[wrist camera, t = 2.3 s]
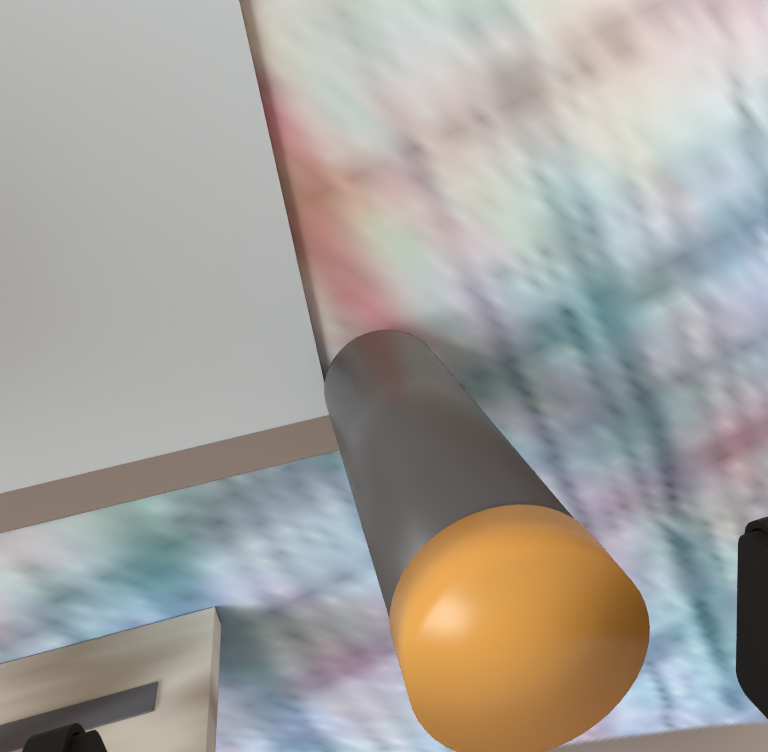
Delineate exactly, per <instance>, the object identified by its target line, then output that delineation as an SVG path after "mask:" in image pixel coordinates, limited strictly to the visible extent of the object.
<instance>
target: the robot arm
mask: <svg viewBox="0 0 768 752" xmlns="http://www.w3.org/2000/svg"><path fill="white" fill-rule="evenodd" d="M736 674H737V678H738V681H739V684H740V686H741V688H742V690H743V691H744V693H745V694H746V696H747V697H748V698H749V699H750V700H751V702H752V703H753V704H754V705H755V706H756V707H757V708H758V709H759V710H760V711H761V712H762V713H763V714H764V715H765V716H766V718H767V719H768V517H765V518H762V519H758V520H755V521H752V522H750V523H748V525H747V526H746V528H745V534H744V535H742V536H741V537H740V538H739V542H738V581H737V642H736ZM22 752H107V750H106V747H105V745H104V743H103V740H102V738H101V736H100V734H99V733H98V731H96V730H91V731H88V732H85V730H84V728H83V727H82V725H80V724H79V723H73V724H70V725H66V726H63V727H60V728H56V729H53V730H50V731H46V732H43V733H40V734H36V735H33V736H31V737H30V738H29V739H28V740H27V741H26V743H25V746H24V748H23V751H22Z"/></svg>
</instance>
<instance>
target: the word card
mask: <svg viewBox="0 0 768 752" xmlns="http://www.w3.org/2000/svg"><path fill="white" fill-rule="evenodd" d="M220 641H221V624H220V621H219V618H218V615H217V612H216V609H215V607H212V608H209V609H205V610H201V611H197V612H194V613H190V614H186V615H183V616H179V617H175V618H171V619H168V620H164V621H160V622H156V623H153V624H149V625H145V626H141V627H138V628H134V629H130V630H126V631H123V632H119V633H115V634H112V635H108V636H104V637H100V638H97V639H93V640H89V641H85V642H82V643H78V644H74V645H70V646H67V647H63V648H59V649H56V650H52V651H48V652H44V653H41V654H37V655H33V656H29V657H26V658H22V659H18V660H14V661H11V662H7V663H3V664H0V752H22V751H23V748H24V746H25V743H26V741H27V740H28V739H29V738H30V737H31V736H33V735H36V734H40V733H43V732H46V731H50V730H53V729H56V728H60V727H63V726H66V725H70V724H73V723H79V724H80V725H82V727H83V728H84V730H85V732H88V731H91V730H96V731H98V733H99V734H100V736H101V738H102V740H103V743H104V745H105V747H106V750H107V752H215V746H216V725H217V704H218V683H219V662H220Z"/></svg>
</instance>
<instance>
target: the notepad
mask: <svg viewBox="0 0 768 752" xmlns="http://www.w3.org/2000/svg"><path fill="white" fill-rule="evenodd" d="M324 385H325V384H324V379H323V375H322V370H321V366H320V361H319V357H318V352H317V348H316V343H315V339H314V334H313V330H312V325H311V321H310V316H309V312H308V307H307V303H306V298H305V294H304V289H303V285H302V280H301V276H300V271H299V267H298V262H297V258H296V253H295V249H294V244H293V240H292V235H291V231H290V226H289V222H288V217H287V213H286V208H285V204H284V199H283V195H282V190H281V186H280V181H279V177H278V172H277V168H276V163H275V159H274V154H273V150H272V145H271V141H270V136H269V132H268V127H267V123H266V118H265V114H264V109H263V105H262V100H261V96H260V91H259V87H258V82H257V78H256V73H255V69H254V64H253V60H252V55H251V51H250V46H249V42H248V37H247V33H246V28H245V24H244V19H243V15H242V10H241V6H240V1H239V0H0V533H3V532H8V531H12V530H16V529H20V528H24V527H28V526H32V525H36V524H40V523H44V522H48V521H52V520H56V519H60V518H65V517H69V516H73V515H77V514H81V513H85V512H89V511H93V510H97V509H101V508H105V507H109V506H113V505H117V504H121V503H126V502H130V501H134V500H138V499H142V498H146V497H150V496H154V495H158V494H162V493H166V492H170V491H174V490H178V489H183V488H187V487H191V486H195V485H199V484H203V483H207V482H211V481H215V480H219V479H223V478H227V477H231V476H235V475H240V474H244V473H248V472H252V471H256V470H260V469H264V468H268V467H272V466H276V465H280V464H284V463H288V462H292V461H297V460H301V459H305V458H309V457H313V456H317V455H321V454H325V453H329V452H333V451H337V450H339V447H338V443H337V440H336V436H335V433H334V430H333V426H332V423H331V419H330V416H329V413H328V409H327V406H326V403H325V396H324Z"/></svg>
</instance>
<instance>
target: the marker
mask: <svg viewBox="0 0 768 752" xmlns="http://www.w3.org/2000/svg"><path fill="white" fill-rule="evenodd" d="M324 396H325V403H326V406H327V409H328V413H329V416H330V419H331V423H332V426H333V430H334V433H335V436H336V440H337V443H338V446H339V450H340V453H341V457H342V460H343V463H344V467H345V470H346V473H347V477H348V480H349V484H350V487H351V490H352V494H353V497H354V500H355V504H356V507H357V511H358V514H359V517H360V521H361V524H362V527H363V531H364V534H365V538H366V541H367V544H368V548H369V551H370V554H371V558H372V561H373V565H374V568H375V571H376V575H377V578H378V581H379V585H380V588H381V592H382V595H383V598H384V602H385V605H386V608H387V612H388V615H389V619H390V631H391V637H392V641H393V644H394V647H395V651H396V654H397V658H398V661H399V665H400V668H401V672H402V675H403V679H404V682H405V685H406V689H407V692H408V696H409V699H410V702H411V706H412V709H413V711H414V713H415V715H416V717H417V719H418V721H419V722H420V724H421V725H422V726H423V728H424V729H425V730H426V731H427V732H428V733H429V734H430V735H431V736H432V737H433V738H434V739H435V740H437V741H438V742H440V743H441V744H443V745H444V746H446V747H448V748H450V749H452V750H454V751H456V752H544V751H547V750H550V749H553V748H555V747H558V746H560V745H562V744H564V743H566V742H568V741H571V740H572V739H574V738H576V737H578V736H579V735H581V734H583V733H584V732H586V731H587V730H589V729H590V728H591V727H593V726H594V725H596V724H597V723H598V722H599V721H601V720H602V719H603V718H604V717H605V716H606V715H608V714H609V713H610V712H611V711H612V710H613V709H614V708H615V706H616V705H617V704H618V703H619V702H620V701H621V700H622V698H623V697H624V696H625V695H626V693H627V692H628V691H629V689H630V688H631V686H632V684H633V683H634V681H635V680H636V678H637V676H638V674H639V672H640V669H641V667H642V665H643V662H644V659H645V656H646V653H647V648H648V643H649V630H650V626H649V617H648V612H647V608H646V605H645V602H644V600H643V598H642V596H641V594H640V592H639V590H638V589H637V588H636V586H635V585H634V583H633V582H632V581H631V580H630V578H629V577H628V576H627V575H626V574H625V573H624V571H623V570H622V569H621V568H620V567H619V566H618V564H617V563H616V562H615V561H614V560H613V559H612V557H611V556H610V555H609V554H608V553H607V552H606V550H605V549H604V548H603V547H602V546H601V545H600V543H599V542H598V541H597V540H596V539H595V538H594V536H593V535H592V534H591V533H590V532H589V531H588V530H587V529H586V528H585V527H584V526H583V525H582V524H581V523H579V522H578V521H576V520H575V519H574V518H573V517H572V516H571V515H570V513H569V512H568V511H567V510H566V509H565V507H564V506H563V505H562V504H561V503H560V502H559V500H558V499H557V498H556V497H555V496H554V494H553V493H552V492H551V491H550V490H549V489H548V487H547V486H546V485H545V484H544V483H543V481H542V480H541V479H540V478H539V477H538V476H537V474H536V473H535V472H534V471H533V470H532V468H531V467H530V466H529V465H528V464H527V463H526V461H525V460H524V459H523V458H522V457H521V456H520V454H519V453H518V452H517V451H516V450H515V448H514V447H513V446H512V445H511V444H510V443H509V441H508V440H507V439H506V438H505V437H504V435H503V434H502V433H501V432H500V431H499V430H498V428H497V427H496V426H495V425H494V424H493V422H492V421H491V420H490V419H489V418H488V417H487V415H486V414H485V413H484V412H483V411H482V409H481V408H480V407H479V406H478V405H477V404H476V402H475V401H474V400H473V399H472V398H471V396H470V395H469V394H468V393H467V392H466V391H465V389H464V388H463V387H462V386H461V385H460V384H459V382H458V381H457V380H456V379H455V378H454V376H453V375H452V374H451V373H450V372H449V371H448V369H447V368H446V367H445V366H444V365H443V363H442V362H441V361H440V360H439V359H438V358H437V356H436V355H435V354H434V353H433V352H432V350H431V349H430V348H429V347H428V346H427V345H426V344H425V343H423V342H422V341H421V340H419V339H418V338H416V337H414V336H412V335H410V334H407V333H404V332H400V331H394V330H381V331H374V332H371V333H367V334H364V335H362V336H359V337H357V338H355V339H354V340H352V341H351V342H350V343H348V344H347V345H346V346H345V347H344V348H343V349H342V350H341V351H340V352H339V353H338V354H337V355H336V357H335V358H334V360H333V361H332V363H331V365H330V367H329V369H328V372H327V375H326V379H325V385H324Z"/></svg>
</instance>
